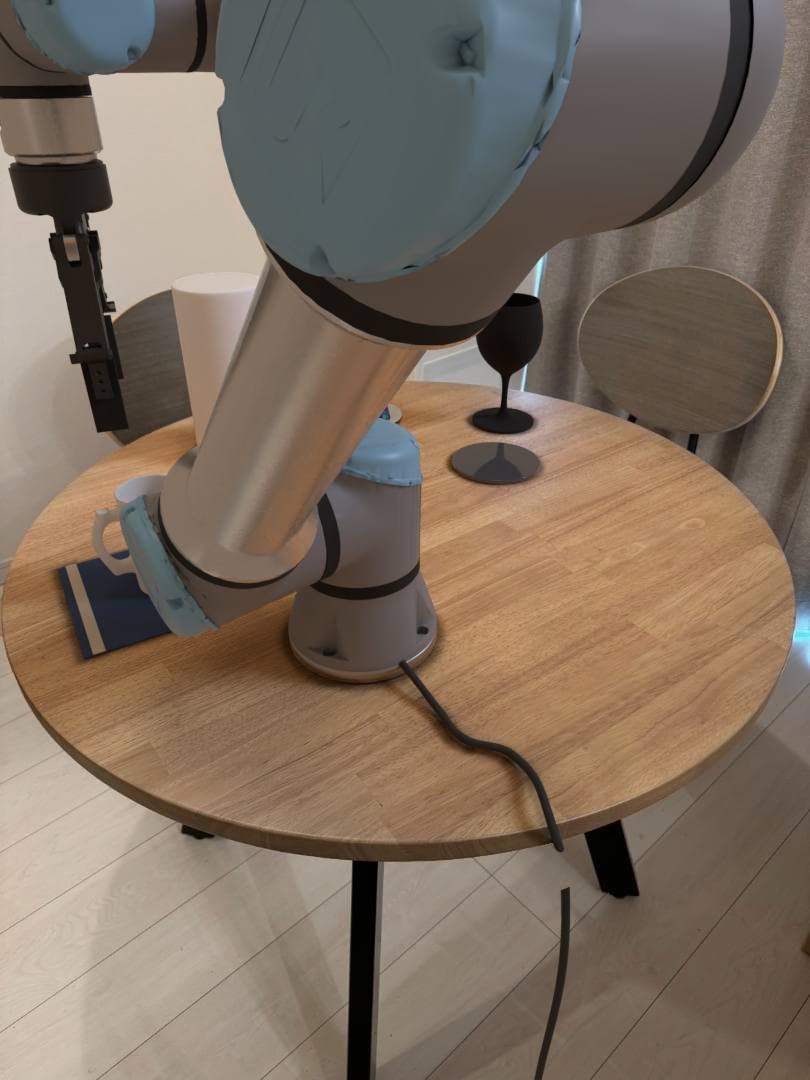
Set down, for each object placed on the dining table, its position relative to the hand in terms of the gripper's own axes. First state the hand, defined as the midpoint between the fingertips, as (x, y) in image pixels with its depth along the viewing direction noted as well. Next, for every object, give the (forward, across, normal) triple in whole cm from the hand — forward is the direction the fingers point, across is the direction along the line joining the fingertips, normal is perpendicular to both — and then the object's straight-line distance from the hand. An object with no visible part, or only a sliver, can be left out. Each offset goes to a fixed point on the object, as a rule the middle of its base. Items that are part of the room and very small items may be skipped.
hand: (111, 402), depth 72 cm
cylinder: (+22, -34, +15) cm, 43 cm away
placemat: (+22, 0, 0) cm, 22 cm away
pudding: (+22, -38, +37) cm, 57 cm away
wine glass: (+22, -29, +58) cm, 69 cm away
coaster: (+22, -15, +50) cm, 57 cm away
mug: (+22, 0, 0) cm, 22 cm away
